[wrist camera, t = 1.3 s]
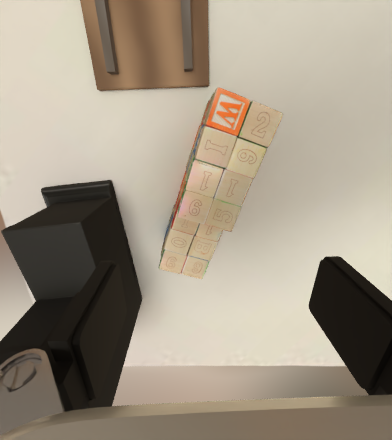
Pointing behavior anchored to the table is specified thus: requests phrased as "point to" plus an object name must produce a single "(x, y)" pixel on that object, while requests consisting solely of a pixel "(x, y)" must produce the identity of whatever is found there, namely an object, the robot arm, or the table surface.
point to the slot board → (147, 43)
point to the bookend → (71, 266)
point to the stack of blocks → (216, 179)
